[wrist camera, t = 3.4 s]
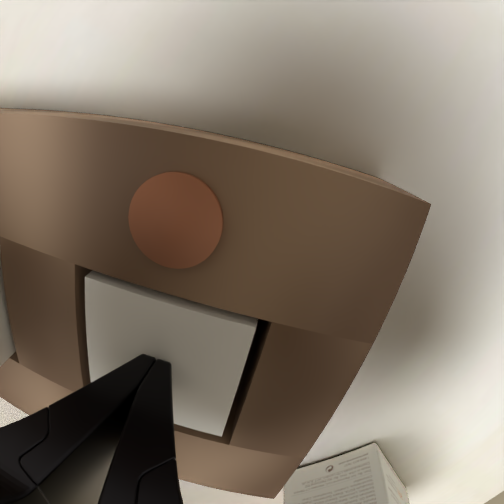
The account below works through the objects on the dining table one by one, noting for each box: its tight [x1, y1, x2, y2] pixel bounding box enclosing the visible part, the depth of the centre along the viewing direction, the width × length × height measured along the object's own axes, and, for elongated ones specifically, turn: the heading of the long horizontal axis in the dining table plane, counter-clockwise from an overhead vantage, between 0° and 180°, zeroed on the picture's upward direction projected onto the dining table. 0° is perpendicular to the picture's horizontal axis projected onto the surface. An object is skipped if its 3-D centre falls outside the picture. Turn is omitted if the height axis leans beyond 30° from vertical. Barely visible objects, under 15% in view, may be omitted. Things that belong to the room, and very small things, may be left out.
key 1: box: [85, 270, 258, 437], centre depth 10 cm, size 4×4×3 cm
